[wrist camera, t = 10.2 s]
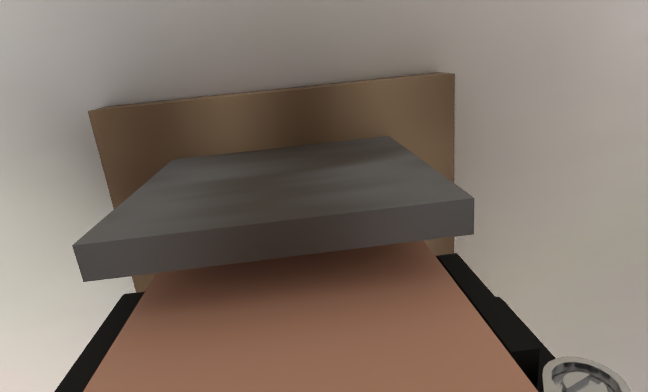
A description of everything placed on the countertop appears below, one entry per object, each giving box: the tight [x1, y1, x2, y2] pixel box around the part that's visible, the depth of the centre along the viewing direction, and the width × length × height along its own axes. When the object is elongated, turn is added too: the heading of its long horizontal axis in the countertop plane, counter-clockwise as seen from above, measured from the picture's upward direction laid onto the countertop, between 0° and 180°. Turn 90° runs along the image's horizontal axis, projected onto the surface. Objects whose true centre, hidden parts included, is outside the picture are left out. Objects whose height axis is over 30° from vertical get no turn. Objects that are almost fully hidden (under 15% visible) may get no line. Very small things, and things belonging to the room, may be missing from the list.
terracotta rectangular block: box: [83, 240, 538, 392], centre depth 10 cm, size 7×4×12 cm, turn 95°
